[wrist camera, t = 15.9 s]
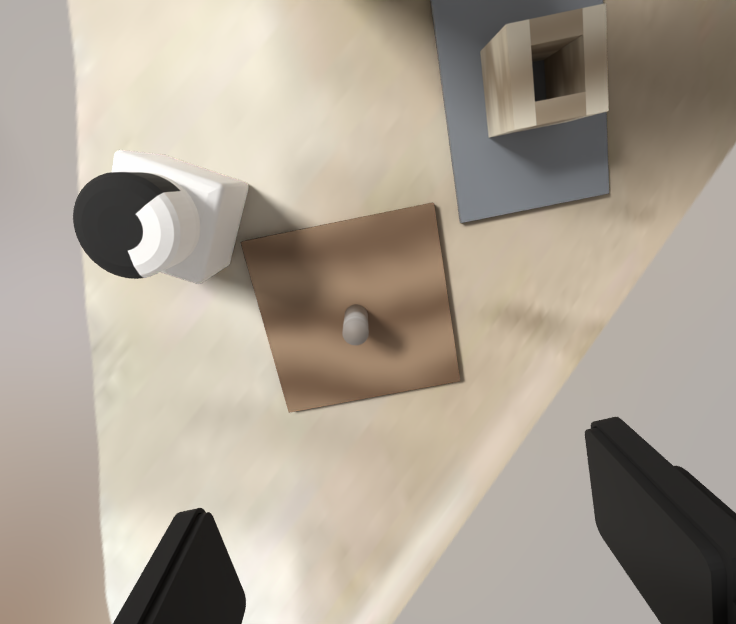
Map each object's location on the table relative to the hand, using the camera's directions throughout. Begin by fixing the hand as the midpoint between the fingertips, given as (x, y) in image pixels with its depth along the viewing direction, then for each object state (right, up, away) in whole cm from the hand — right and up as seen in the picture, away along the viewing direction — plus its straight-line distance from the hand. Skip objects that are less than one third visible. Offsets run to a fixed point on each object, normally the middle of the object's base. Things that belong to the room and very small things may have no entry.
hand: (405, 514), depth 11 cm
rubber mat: (+11, +22, +23) cm, 33 cm away
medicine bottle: (-15, +13, +25) cm, 32 cm away
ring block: (+11, +22, +22) cm, 33 cm away
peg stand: (-2, +5, +28) cm, 28 cm away
